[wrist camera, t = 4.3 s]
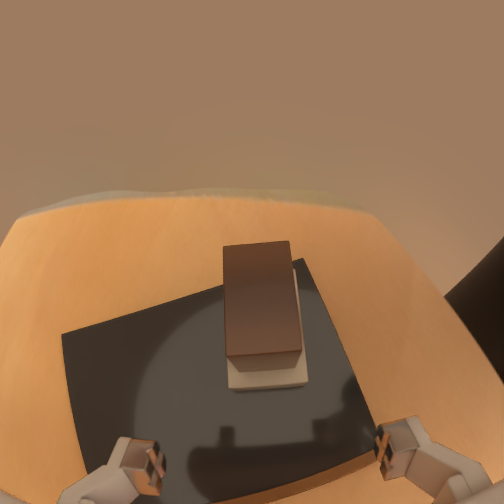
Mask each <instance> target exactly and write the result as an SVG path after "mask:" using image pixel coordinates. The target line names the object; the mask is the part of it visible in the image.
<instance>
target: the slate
mask: <svg viewBox="0 0 504 504" xmlns="http://www.w3.org/2000/svg"><path fill="white" fill-rule="evenodd" d="M292 265H293V269H295V272H296V280H297V287H298V295H299V303H300V311H301V320H302V328H303V337H304V346H305V355H306V365H307V375H308V382H307V383H306V384H305V386H298V387H288V388H278V389H265V390H250V391H233V390H231V389H229V388H228V369H227V357H226V355H225V326H224V288H223V285H220V286H217V287H214V288H211V289H207V290H204V291H201V292H198V293H195V294H192V295H189V296H186V297H182V298H179V299H176V300H173V301H170V302H167V303H163V304H160V305H157V306H154V307H151V308H147V309H144V310H141V311H138V312H134V313H131V314H128V315H125V316H121V317H118V318H115V319H111V320H108V321H105V322H102V323H98V324H95V325H92V326H88V327H85V328H81V329H78V330H75V331H71V332H68V333H64V334H62V346H63V355H64V363H65V371H66V378H67V385H68V391H69V397H70V403H71V408H72V413H73V418H74V423H75V427H76V432H77V436H78V440H79V444H80V448H81V452H82V456H83V460H84V463H85V467H86V470H87V473H88V475H89V474H90V473H92V472H93V471H95V470H96V469H98V468H99V467H101V466H102V465H107V463H108V461H109V459H110V456H111V454H112V452H113V449H114V447H115V445H116V443H117V440H118V439H119V438H120V437H129V438H136V439H144V440H153V441H158V442H159V444H160V446H161V447H160V451H161V452H162V453H164V455H165V457H166V462H167V464H166V473H165V475H164V476H163V477H162V478H160V479H161V481H162V483H163V485H162V489H161V492H160V496H155V495H146V494H139V496H138V497H136V498H135V499H134V500H133V501H132V502H131V503H130V504H265V503H268V502H272V501H275V500H279V499H282V498H285V497H289V496H292V495H295V494H298V493H301V492H304V491H307V490H309V489H312V488H315V487H318V486H320V485H323V484H326V483H328V482H331V481H333V480H336V479H338V478H340V477H343V476H345V475H348V474H350V473H352V472H354V471H357V470H359V469H361V468H363V467H365V466H367V465H369V464H372V463H374V462H376V461H377V460H376V457H375V453H374V441H375V438H376V437H377V436H378V433H377V429H376V427H375V424H374V421H373V419H372V416H371V414H370V411H369V409H368V406H367V404H366V401H365V399H364V396H363V394H362V391H361V389H360V386H359V384H358V382H357V379H356V377H355V374H354V372H353V370H352V367H351V365H350V362H349V360H348V358H347V355H346V353H345V351H344V348H343V346H342V344H341V341H340V339H339V337H338V334H337V332H336V330H335V327H334V325H333V323H332V321H331V318H330V316H329V314H328V311H327V309H326V307H325V305H324V303H323V300H322V298H321V296H320V294H319V291H318V289H317V287H316V285H315V283H314V280H313V278H312V276H311V274H310V272H309V270H308V267H307V265H306V263H305V261H304V259H303V258H301V259H298V260H295V261H292Z"/></svg>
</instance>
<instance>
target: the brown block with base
mask: <svg viewBox="0 0 504 504" xmlns="http://www.w3.org/2000/svg"><path fill="white" fill-rule="evenodd" d="M223 288H224V326H225V355H226V357H227V369H228V388H229V389H231V390H233V391H250V390H265V389H278V388H288V387H298V386H305V384H306V383H307V382H308V375H307V365H306V355H305V346H304V337H303V328H302V320H301V311H300V303H299V295H298V287H297V280H296V272H295V269H293V265H292V258H291V250H290V243H289V241H278V242H266V243H255V244H243V245H232V246H223Z"/></svg>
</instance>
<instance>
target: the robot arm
mask: <svg viewBox="0 0 504 504" xmlns="http://www.w3.org/2000/svg"><path fill="white" fill-rule="evenodd" d="M377 433H378V436H377V437H376V438H375V441H374V453H375V457H376V460H377V461H379V462H381V466H380V471H381V474H382V477H383V479H384V481H386V480H391V479H395V478H398V477H402V476H405V477H406V478H407V479H408V480H410V481H411V482H412V483H414V484H415V485H416V486H418V487H419V488H421V489H422V490H423V491H425V492H426V493H428V494H429V495H430V496H432V497H433V498H435V500H434V501H433V503H432V504H504V479H502V480H500V481H498V482H497V483H495V484H492V482H491V480H490V479H489V477H488V475H487V473H486V472H485V470H484V468H483V467H482V465H481V464H480V463H479V462H477V461H474V460H472V459H470V458H468V457H466V456H464V455H462V454H459V453H457V452H455V451H453V450H451V449H449V448H447V447H445V446H443V445H441V444H439V443H437V442H435V443H432V441H431V439H430V437H429V436H428V434H427V432H426V430H425V428H424V427H423V425H422V423H421V422H420V420H419V418H418V417H417V416H416V415H415V416H411V417H408V418H404V419H399V420H395V421H392V422H388V423H384V424H379V426H378V428H377ZM160 447H161V446H160V444H159V442H158V441H153V440H144V439H136V438H129V437H120V438H119V439H118V440H117V443H116V445H115V447H114V449H113V452H112V454H111V456H110V459H109V461H108V463H107V465H102V466H101V467H99V468H98V469H96V470H95V471H93V472H92V473H90V474H89V475H87V476H85V477H84V478H82V479H81V480H79V481H78V482H76V483H74V484H73V485H71V486H69V487H68V488H66V489H64V490H63V491H62V493H61V495H60V497H59V499H58V501H57V503H56V504H130V503H131V502H132V501H133V500H134V499H135V498H136V497H138V496H139V494H146V495H155V496H160V492H161V489H162V485H163V483H162V481H161V479H160V478H162V477H163V476H164V475H165V473H166V464H167V462H166V457H165V455H164V453H162V452H161V451H160ZM0 504H30V503H28V502H26V501H24V500H22V499H20V498H17V497H15V496H13V495H11V494H9V493H7V492H5V491H4V490H2V489H0Z"/></svg>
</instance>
